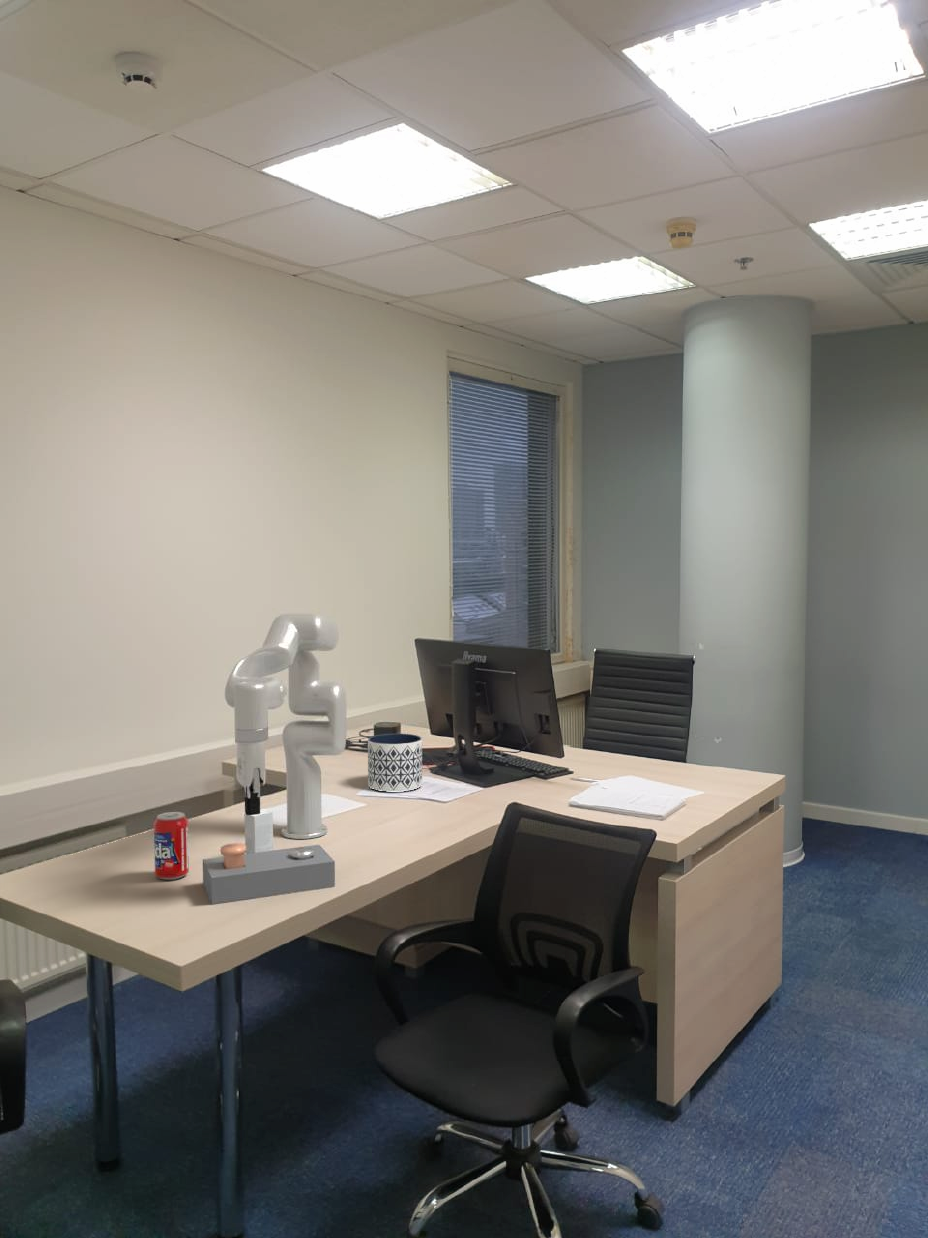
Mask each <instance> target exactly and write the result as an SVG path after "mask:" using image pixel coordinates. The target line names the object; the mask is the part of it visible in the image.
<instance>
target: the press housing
mask: <svg viewBox="0 0 928 1238" xmlns="http://www.w3.org/2000/svg"><path fill="white" fill-rule="evenodd" d="M299 847H300V846H296V848H299ZM303 847H309V848H312V849H314V856H313V857H312V858H308V859H299V860H294V859H293V858H291V857H290V850H292V849H294V848H295V847H290V848H289V847H288V848H283V849H274V850H273V851H265V852H257V853H249V854H246V853H244V867H239V868H232V869H225V868H224V866H223V856H220V857H211V858H204V859H202V885H203V887H204V889H205V892H206V894H207V896H208V898H209V900H210V903H211V905H213V906H214V905H219V904H226V903H232V902H238V901H239V900H240V901H246V900H253V898H254V899H260V898H267V897H272V896H271V895H274V896H279V895H278V894H281V895H286V894H285V893H288V894H292V893H291V892H294V893H299V892H298V891H301V892H307V891H306V890H308V891H313V890H312V889H315V890H319V889H318V888H322V889H326V888H325V887H329V888H334V886H335V887H336V874H335V873H336V869H335V868H336V867H335V866H336V863H335V862H336V861H335V860H334V858H332V856H331V855H329V853H328V852H327V851H326V850H325V849H324V848H323V847H322V846H321V845H320V844H315V845H313V844H312V845H305V846H303ZM266 896H267V897H266ZM259 897H260V898H259Z"/></svg>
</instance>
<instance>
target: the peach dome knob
mask: <svg viewBox="0 0 928 1238" xmlns="http://www.w3.org/2000/svg"><path fill="white" fill-rule="evenodd" d="M245 852H246V845H245V844H244V843H239V842H238V843H227V844H224V845H222V846H221V847H220V854H221V855H222V857H223V866H224V868H225V869H232V868H239V867H244V854H246V853H245Z"/></svg>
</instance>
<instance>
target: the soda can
mask: <svg viewBox="0 0 928 1238" xmlns="http://www.w3.org/2000/svg"><path fill="white" fill-rule="evenodd" d="M153 843H154V844H153V846H154V847H153V849H154V851H153V852H154V853H153V855H154V875H155V877H157V878H159V879H160V880H163V881H174V880H179V879H182V878H184V876H186V875H187V874H189V871H190V860H189V859H190V856H189V853H190V851H189V850H190V849H189V820H188V819H187V818H186V814H185V813H183V812H180V811H171V812H170V811H169V812H162V813H160V814H157V815H156V819H155V821H154V822H153Z"/></svg>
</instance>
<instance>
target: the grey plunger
mask: <svg viewBox="0 0 928 1238" xmlns="http://www.w3.org/2000/svg"><path fill="white" fill-rule="evenodd" d="M298 847H299V848H297V847H293V848H294V849H292V850H290V857H291V858H293V859H294V860H299V859H308V858H312V857H313V856H314V849H312V848H309V847H304V846H298Z"/></svg>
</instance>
